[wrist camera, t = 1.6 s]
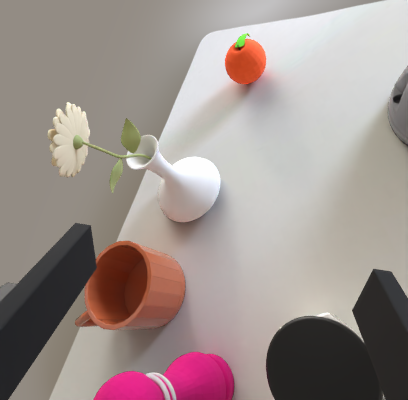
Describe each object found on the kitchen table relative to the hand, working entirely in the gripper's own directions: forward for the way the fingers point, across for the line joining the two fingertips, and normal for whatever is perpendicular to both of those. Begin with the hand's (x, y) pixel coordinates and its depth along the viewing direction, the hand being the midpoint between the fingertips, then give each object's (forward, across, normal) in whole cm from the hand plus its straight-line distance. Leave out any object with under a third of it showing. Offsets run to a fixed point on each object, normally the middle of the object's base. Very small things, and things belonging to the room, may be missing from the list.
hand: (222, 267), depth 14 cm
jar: (+10, +13, -20) cm, 26 cm away
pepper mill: (+10, +1, -28) cm, 30 cm away
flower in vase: (+31, -6, -14) cm, 34 cm away
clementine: (+46, +1, +4) cm, 47 cm away
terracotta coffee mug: (+19, -11, -26) cm, 35 cm away
